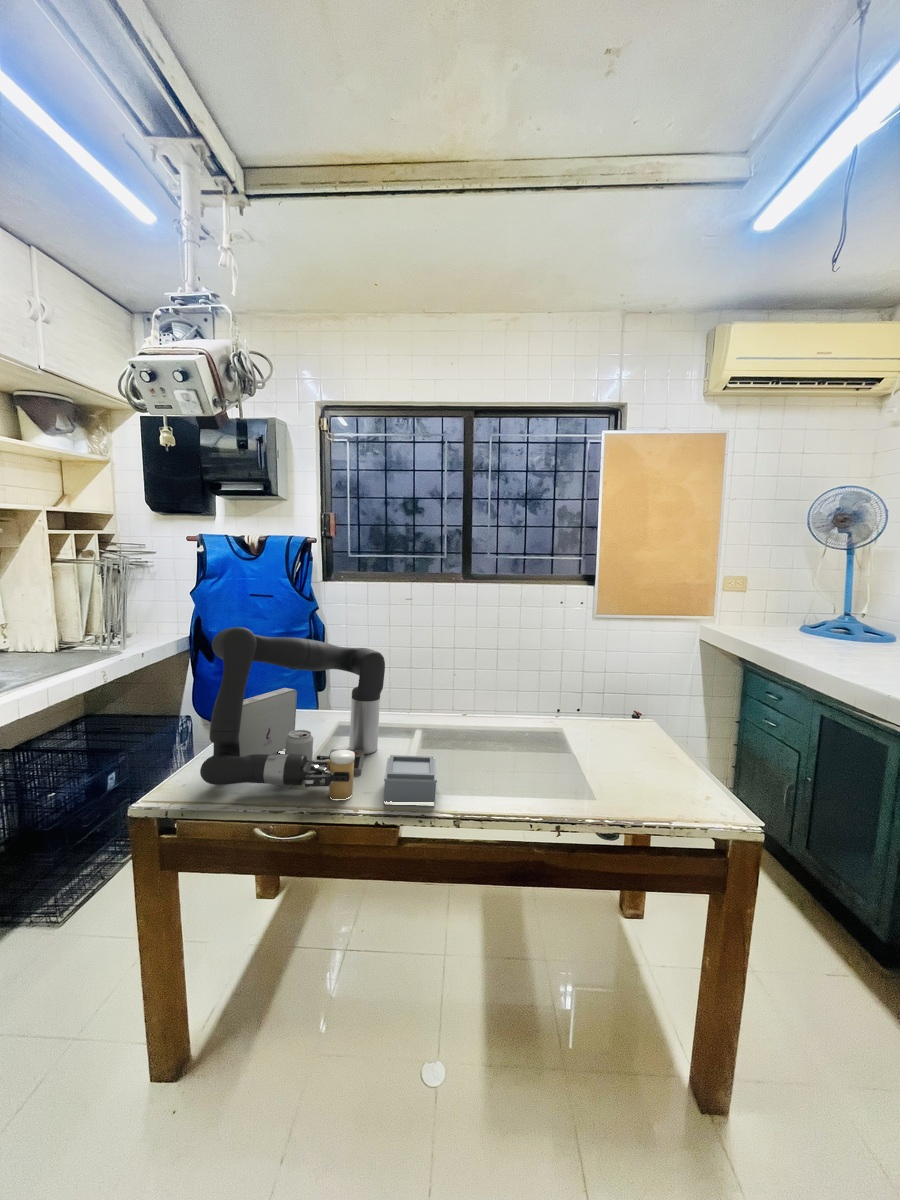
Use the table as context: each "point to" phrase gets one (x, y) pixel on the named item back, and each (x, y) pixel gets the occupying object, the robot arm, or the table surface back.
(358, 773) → the electronic device
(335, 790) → the glass of beer
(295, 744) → the can
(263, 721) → the network device
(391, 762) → the grey case
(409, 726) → the table surface
